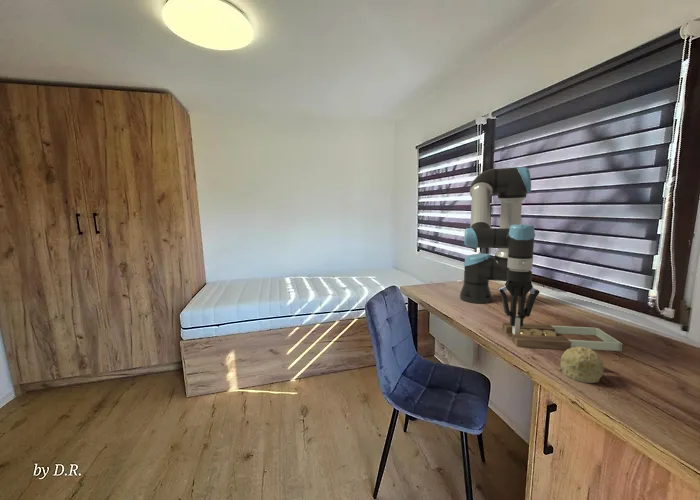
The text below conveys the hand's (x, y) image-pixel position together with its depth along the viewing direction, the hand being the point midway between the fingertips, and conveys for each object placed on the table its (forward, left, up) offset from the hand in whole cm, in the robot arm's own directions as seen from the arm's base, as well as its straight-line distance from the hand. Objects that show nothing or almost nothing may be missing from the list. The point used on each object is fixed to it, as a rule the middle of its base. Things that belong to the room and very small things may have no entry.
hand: (515, 334), depth 105 cm
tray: (0, +21, -2) cm, 21 cm away
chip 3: (0, +11, -1) cm, 11 cm away
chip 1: (0, +3, -1) cm, 3 cm away
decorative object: (+21, +10, -2) cm, 23 cm away
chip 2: (0, +7, -1) cm, 7 cm away
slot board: (0, +6, -2) cm, 6 cm away
